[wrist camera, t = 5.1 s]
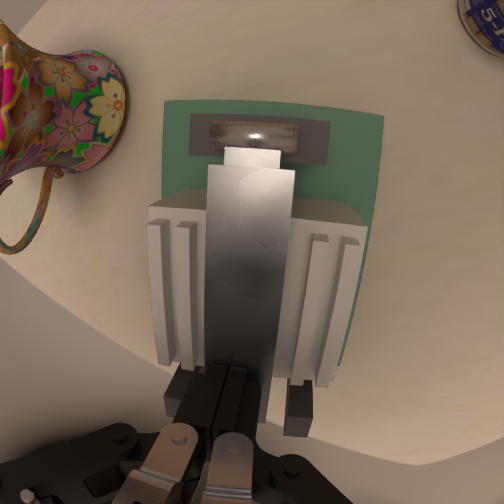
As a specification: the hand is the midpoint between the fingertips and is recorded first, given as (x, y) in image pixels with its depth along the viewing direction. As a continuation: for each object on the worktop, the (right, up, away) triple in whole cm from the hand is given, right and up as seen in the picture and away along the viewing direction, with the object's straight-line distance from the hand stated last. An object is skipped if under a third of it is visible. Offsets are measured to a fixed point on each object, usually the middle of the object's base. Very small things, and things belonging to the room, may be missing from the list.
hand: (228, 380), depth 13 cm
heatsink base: (+2, +6, +6) cm, 9 cm away
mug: (-10, +14, +5) cm, 18 cm away
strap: (+1, +4, -1) cm, 4 cm away
